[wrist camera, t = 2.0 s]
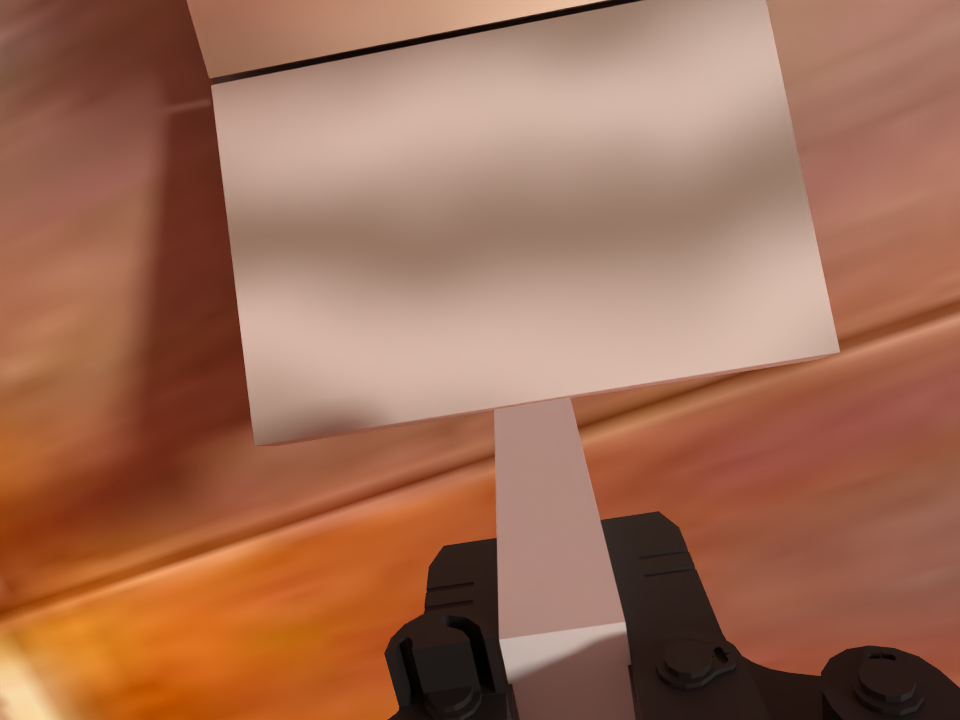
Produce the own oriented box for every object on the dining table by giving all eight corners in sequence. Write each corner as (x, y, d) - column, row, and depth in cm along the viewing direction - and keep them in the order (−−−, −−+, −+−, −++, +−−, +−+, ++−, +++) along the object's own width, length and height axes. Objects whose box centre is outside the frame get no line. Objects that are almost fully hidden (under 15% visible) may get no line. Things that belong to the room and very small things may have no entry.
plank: (237, 112, 24) (211, 85, 22) (744, 14, 22) (760, -23, 21) (278, 445, 22) (254, 445, 21) (816, 360, 21) (839, 351, 19)
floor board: (98, -332, 20) (56, -373, 18) (732, -485, 19) (761, -546, 17) (310, 406, 28) (296, 434, 26) (772, 331, 26) (794, 354, 25)
